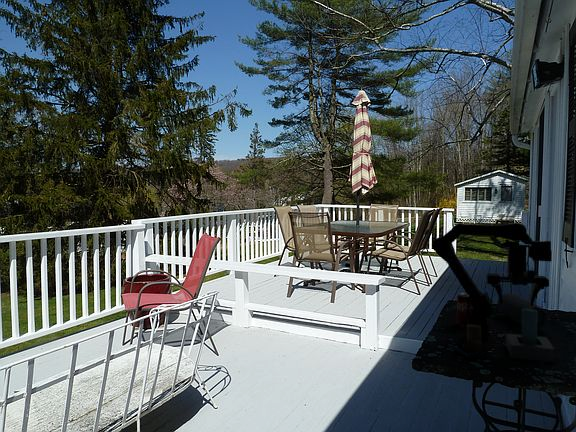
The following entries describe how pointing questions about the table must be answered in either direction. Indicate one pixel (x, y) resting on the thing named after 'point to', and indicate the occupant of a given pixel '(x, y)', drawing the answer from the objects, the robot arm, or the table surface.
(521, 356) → the socket block
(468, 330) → the short peg
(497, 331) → the table surface
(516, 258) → the robot arm
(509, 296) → the dark curved piece
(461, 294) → the soda can
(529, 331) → the long peg
